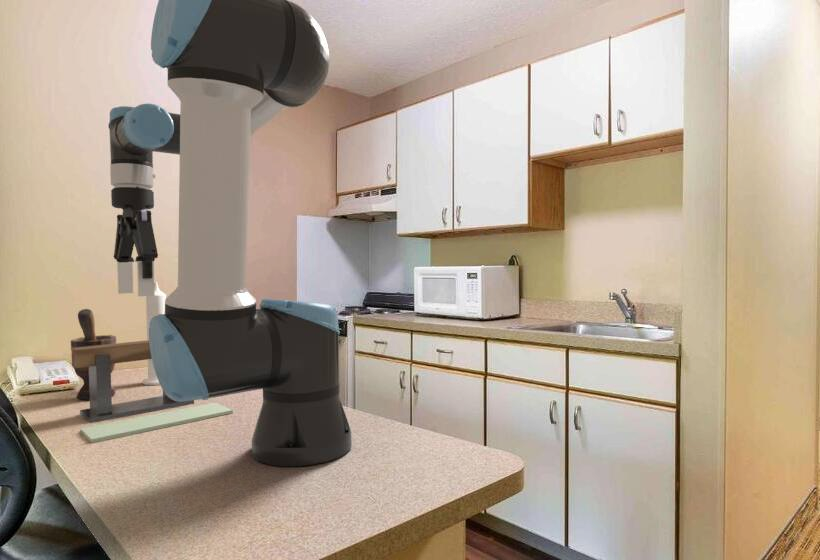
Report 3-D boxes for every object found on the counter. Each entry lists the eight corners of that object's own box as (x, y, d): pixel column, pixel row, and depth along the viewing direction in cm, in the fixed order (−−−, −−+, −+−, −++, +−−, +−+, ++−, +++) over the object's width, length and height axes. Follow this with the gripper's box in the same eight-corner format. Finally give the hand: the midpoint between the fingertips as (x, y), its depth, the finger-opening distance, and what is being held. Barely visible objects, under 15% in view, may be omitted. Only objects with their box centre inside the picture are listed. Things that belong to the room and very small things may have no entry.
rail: (195, 353, 112) (195, 337, 112) (75, 368, 97) (75, 349, 97) (189, 351, 115) (189, 336, 115) (72, 365, 100) (71, 347, 100)
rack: (194, 403, 110) (192, 346, 109) (89, 422, 97) (87, 357, 96) (180, 396, 116) (178, 342, 115) (80, 414, 103) (78, 353, 102)
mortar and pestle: (124, 399, 113) (121, 307, 113) (77, 407, 108) (74, 310, 107) (114, 390, 122) (111, 304, 122) (70, 396, 117) (67, 306, 116)
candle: (145, 380, 133) (142, 281, 132) (175, 378, 135) (173, 280, 134) (139, 386, 126) (137, 282, 125) (172, 384, 128) (169, 281, 127)
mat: (232, 413, 102) (232, 410, 102) (91, 442, 86) (91, 439, 86) (215, 405, 108) (215, 402, 108) (80, 431, 91) (80, 428, 91)
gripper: (174, 183, 98) (177, 296, 99) (134, 196, 117) (136, 291, 117) (130, 178, 93) (133, 298, 94) (95, 193, 111) (98, 293, 112)
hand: (135, 294), depth 106 cm, fingers open, 13 cm apart
